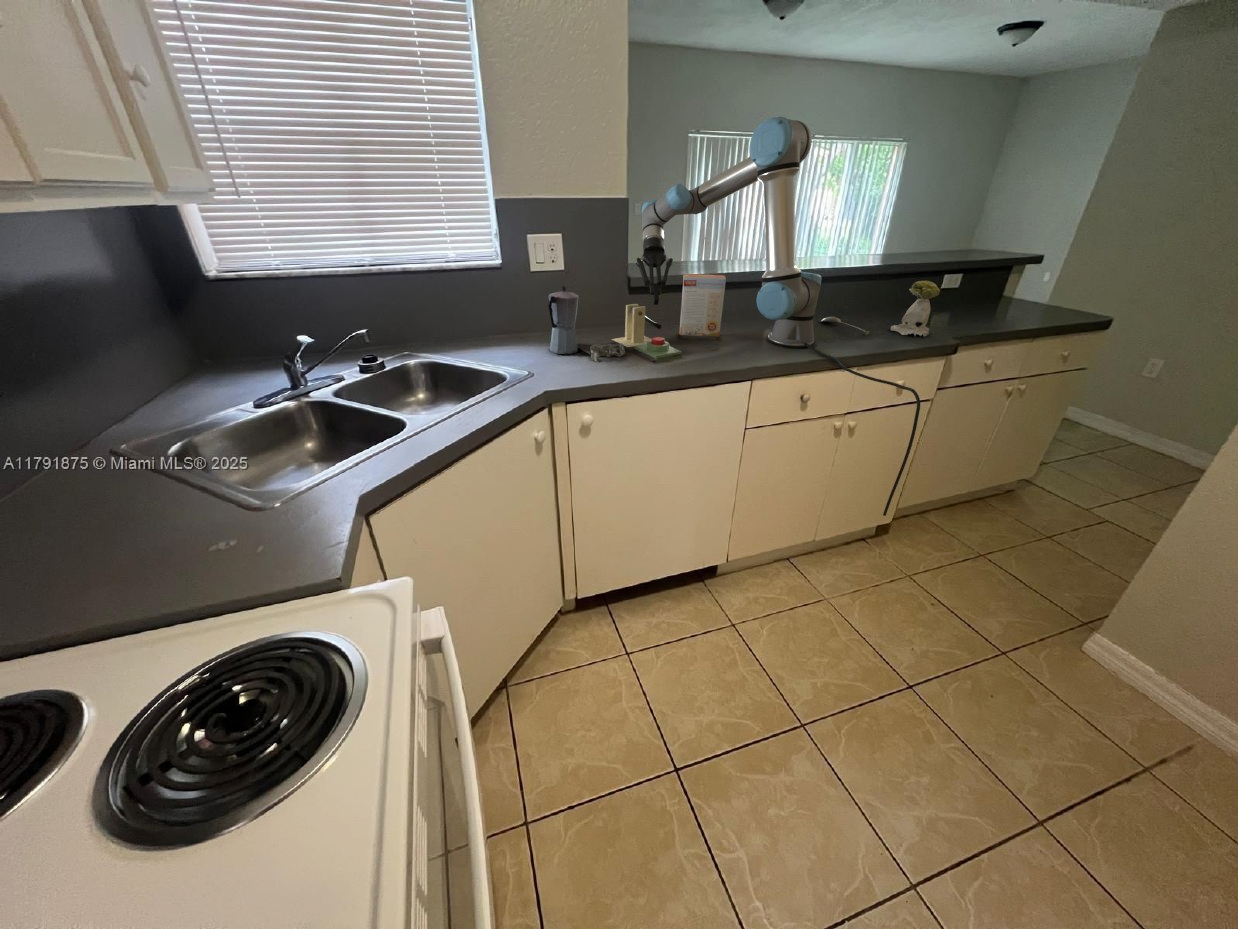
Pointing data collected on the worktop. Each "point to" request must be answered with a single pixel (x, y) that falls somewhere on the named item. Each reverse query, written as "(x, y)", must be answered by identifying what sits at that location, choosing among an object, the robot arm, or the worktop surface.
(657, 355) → the button box
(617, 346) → the mottled toad figurine
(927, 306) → the grey and green figure
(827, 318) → the soupspoon
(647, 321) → the toaster lever
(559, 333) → the moka pot
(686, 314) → the cracker box
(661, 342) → the button
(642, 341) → the bracket
